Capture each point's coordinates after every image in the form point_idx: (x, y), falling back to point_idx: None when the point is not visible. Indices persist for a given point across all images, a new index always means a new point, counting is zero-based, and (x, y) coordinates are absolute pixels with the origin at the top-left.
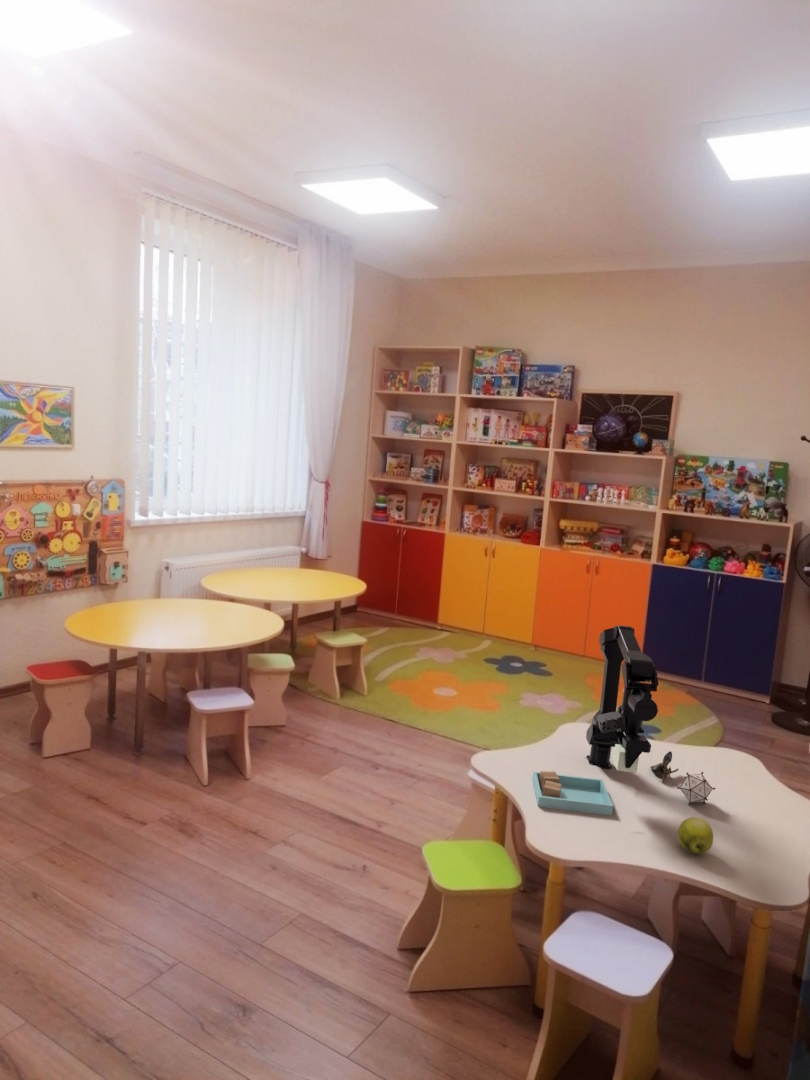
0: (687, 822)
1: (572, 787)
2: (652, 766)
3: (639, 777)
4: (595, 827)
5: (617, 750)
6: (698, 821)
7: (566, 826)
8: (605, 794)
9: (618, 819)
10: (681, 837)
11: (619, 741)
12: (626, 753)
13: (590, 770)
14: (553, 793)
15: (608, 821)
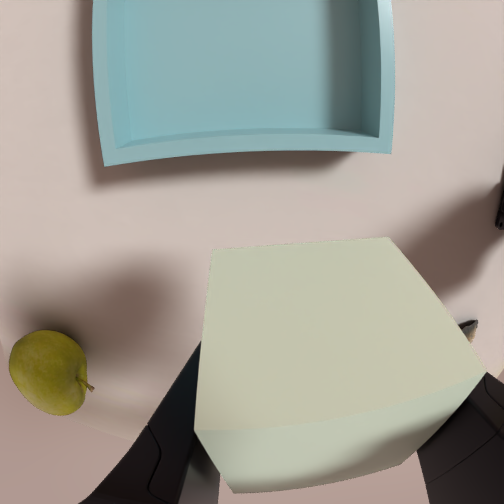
0: (25, 381)
1: (345, 14)
2: (471, 330)
3: (449, 292)
4: (39, 97)
5: (345, 383)
6: (33, 402)
7: (25, 13)
8: (222, 136)
9: (122, 179)
10: (20, 342)
11: (486, 419)
12: (112, 471)
13: (492, 151)
14: None
15: (92, 140)
